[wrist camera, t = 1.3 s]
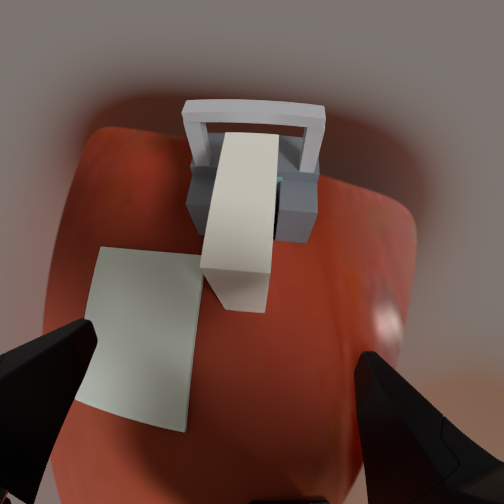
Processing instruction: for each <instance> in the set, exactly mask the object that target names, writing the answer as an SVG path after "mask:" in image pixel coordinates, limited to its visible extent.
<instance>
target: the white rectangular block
mask: <svg viewBox="0 0 504 504" xmlns="http://www.w3.org/2000/svg"><path fill="white" fill-rule="evenodd" d="M278 145H279V135H275V134H259V133H236V132H235V133H234V132H226V133H225V137H224V142H223V146H222V151H221V155H220V160H219V165H218V169H217V174H216V179H215V184H214V189H213V194H212V199H211V205H210V210H209V215H208V221H207V226H206V232H205V237H204V243H203V249H202V255H201V261H200V269H201V271H202V272H203V274H204V276H205V277H206V279H207V281H208V282H209V284H210V286H211V287H212V289H213V291H214V292H215V294H216V295H217V297H218V299H219V300H220V302H221V303H222V305H223V307H224V308H225V310H235V311H245V312H257V313H265V308H266V301H267V294H268V287H269V280H270V272H271V259H272V245H273V230H274V215H275V199H276V182H277V164H278Z"/></svg>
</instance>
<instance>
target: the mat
mask: <svg viewBox="0 0 504 504" xmlns="http://www.w3.org/2000/svg"><path fill="white" fill-rule="evenodd" d="M200 261H201V255H192V254H181V253H169V252H157V251H146V250H134V249H123V248H112V247H100V251H99V254H98V258H97V262H96V266H95V270H94V274H93V278H92V283H91V287H90V292H89V297H88V302H87V307H86V312H85V318H84V319H87V320H90V321H91V322H92V323H93V326H94V329H95V332H96V335H97V338H98V343H97V347H96V349H95V351H94V354H93V357H92V359H91V362H90V364H89V367H88V370H87V372H86V375H85V377H84V379H83V382H82V384H81V386H80V388H79V390H78V392H77V394H76V396H75V400H78V401H80V402H82V403H85V404H88V405H90V406H93V407H95V408H98V409H101V410H104V411H107V412H110V413H112V414H116V415H119V416H122V417H125V418H128V419H132V420H135V421H138V422H142V423H146V424H149V425H153V426H157V427H161V428H166V429H170V430H175V431H179V432H185V431H186V428H187V416H188V405H189V394H190V384H191V374H192V365H193V356H194V348H195V339H196V331H197V323H198V316H199V308H200V301H201V294H202V287H203V280H204V274H203V272H202V271H201V269H200Z"/></svg>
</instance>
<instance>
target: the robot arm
mask: <svg viewBox="0 0 504 504" xmlns="http://www.w3.org/2000/svg"><path fill="white" fill-rule="evenodd" d="M97 343H98V338H97V335H96V332H95V329H94V326H93V323H92V322H91V321H90V320H87V319H83V318H81V319H78V320H76V321H74V322H72V323H70V324H67V325H65V326H63V327H61V328H58V329H56V330H54V331H52V332H50V333H47V334H45V335H43V336H41V337H39V338H36V339H34V340H32V341H30V342H28V343H25V344H23V345H21V346H19V347H17V348H15V349H12V350H10V351H8V352H6V353H4V354H1V355H0V504H11V501H10V499H9V498H7V497H6V496H7V494H8V492H9V493H10V494H12V495H13V496H15V497H16V498H18V499H19V500H21V501H23V502H24V503H26V504H34V502H35V498H36V495H37V492H38V489H39V485H40V483H41V480H42V477H43V474H44V471H45V468H46V465H47V462H48V460H49V457H50V454H51V452H52V449H53V447H54V444H55V442H56V439H57V437H58V434H59V432H60V430H61V427H62V425H63V423H64V420H65V418H66V416H67V414H68V411H69V409H70V407H71V405H72V403H73V400H74V398H75V396H76V394H77V392H78V390H79V388H80V386H81V384H82V382H83V379H84V377H85V375H86V372H87V370H88V367H89V364H90V362H91V359H92V357H93V354H94V351H95V349H96V347H97ZM354 382H355V396H356V414H357V422H358V428H359V434H360V441H361V447H362V454H363V462H364V469H365V476H366V486H367V495H368V504H504V462H502V461H500V460H498V459H496V458H495V457H494V456H492V455H491V454H490V453H488V452H487V451H486V450H484V449H483V448H481V447H480V446H479V445H477V444H476V443H475V442H474V441H472V440H471V439H470V438H469V437H467V436H466V435H465V434H463V433H462V432H461V431H460V430H459V429H458V428H456V426H454V425H453V424H452V423H451V422H450V421H449V420H448V419H447V418H446V417H443V414H442V413H440V412H439V411H438V410H437V409H436V408H435V407H434V406H433V405H432V404H431V403H430V402H429V401H428V400H427V399H426V398H424V397H423V396H422V395H421V394H420V393H419V392H418V391H417V390H416V389H415V388H414V387H413V386H412V385H410V384H409V383H408V382H407V381H406V380H405V379H404V378H403V377H402V376H401V375H400V374H399V373H398V372H397V371H395V370H394V369H393V368H392V367H391V366H390V365H389V364H388V363H387V362H386V361H385V360H384V359H383V358H381V357H380V356H379V355H378V354H377V353H376V352H374V351H364V352H362V353H361V355H360V358H359V360H358V363H357V365H356V368H355V371H354ZM249 504H330V503H329V501H327V500H322V501H308V500H298V501H275V502H272V501H251V502H249Z"/></svg>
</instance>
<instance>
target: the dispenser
mask: <svg viewBox="0 0 504 504" xmlns="http://www.w3.org/2000/svg"><path fill="white" fill-rule="evenodd" d="M182 116H183V123H184V126H185V130H186V134H187V138H188V141H189V145H190V148H191V152H192V155H193V158H192V161H191V165H190V169H191V172H192V175H193V176H192V180H191V184H190V188H189V192H188V196H187V200H186V207H187V209H188V211H189V214H190V216H191V218H192V220H193V223H194V225H195V227H196V230H197V232H198V234H199V235H204V236H205V232H206V226H207V221H208V215H209V210H210V205H211V199H212V194H213V189H214V184H215V179H216V174H217V169H218V165H219V160H220V155H221V151H222V146H223V142H224V137H225V133H207V129H206V124H205V122H242V123H265V124H279V125H292V126H302V127H305V131H304V137H303V138H300V137H289V136H279V145H278V164H277V182H276V199H275V214H277V221H276V237H275V241H285V242H297V243H307V241H308V238H309V236H310V233H311V230H312V228H313V225H314V222H315V220H316V217H317V214H318V196H317V182H318V178H319V175H320V174H319V158H318V154H319V151H320V147H321V142H322V138H323V134H324V130H325V120H326V116H325V109H324V106H319V105H311V104H302V103H292V102H280V101H265V100H235V99H234V100H232V99H230V100H229V99H221V100H220V99H218V100H217V99H216V100H188V101H186V103H185V106H184V108H183V111H182Z"/></svg>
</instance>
